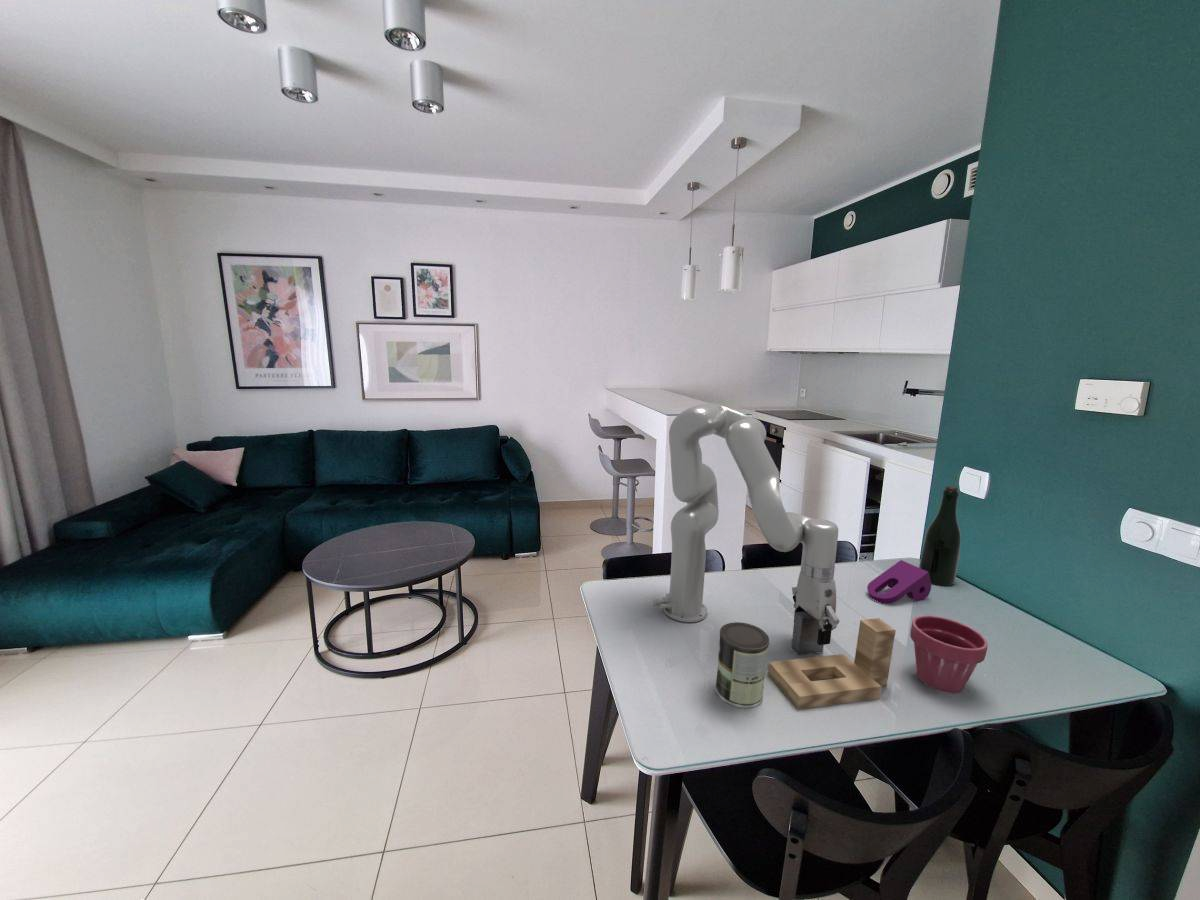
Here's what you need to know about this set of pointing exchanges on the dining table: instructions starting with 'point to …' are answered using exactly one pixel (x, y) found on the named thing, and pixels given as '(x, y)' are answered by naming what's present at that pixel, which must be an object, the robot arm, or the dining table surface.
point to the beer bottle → (943, 541)
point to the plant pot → (946, 652)
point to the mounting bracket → (901, 583)
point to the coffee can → (741, 664)
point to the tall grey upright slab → (806, 634)
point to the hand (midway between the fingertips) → (811, 633)
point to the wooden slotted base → (839, 671)
